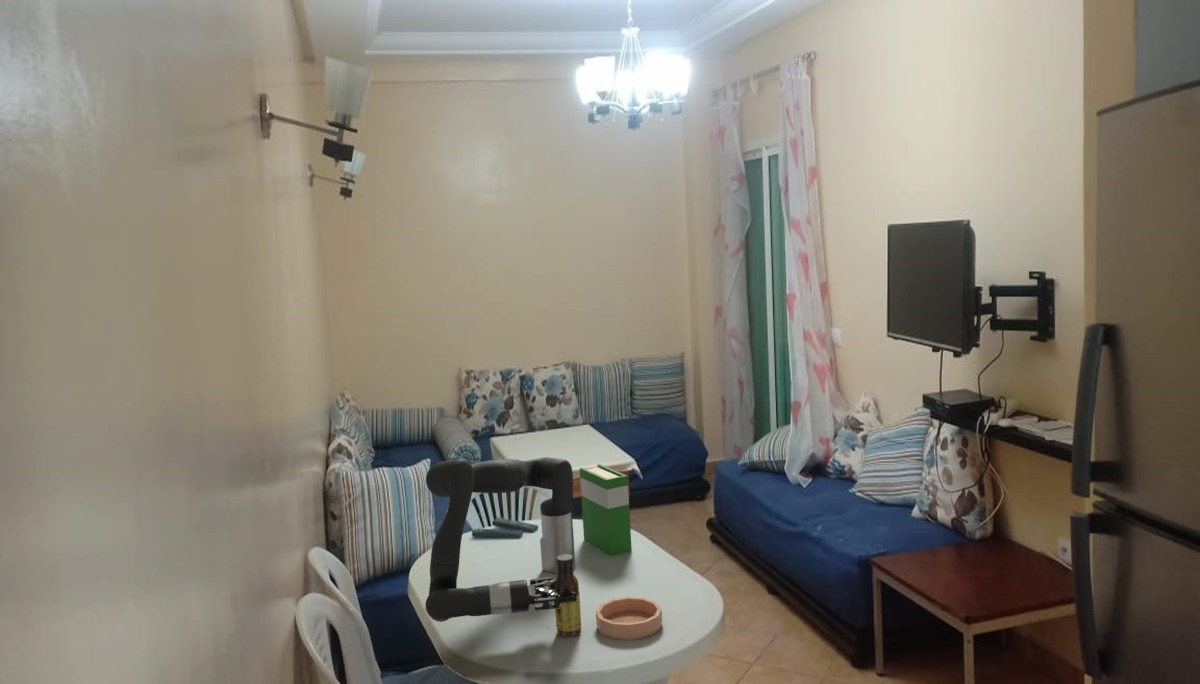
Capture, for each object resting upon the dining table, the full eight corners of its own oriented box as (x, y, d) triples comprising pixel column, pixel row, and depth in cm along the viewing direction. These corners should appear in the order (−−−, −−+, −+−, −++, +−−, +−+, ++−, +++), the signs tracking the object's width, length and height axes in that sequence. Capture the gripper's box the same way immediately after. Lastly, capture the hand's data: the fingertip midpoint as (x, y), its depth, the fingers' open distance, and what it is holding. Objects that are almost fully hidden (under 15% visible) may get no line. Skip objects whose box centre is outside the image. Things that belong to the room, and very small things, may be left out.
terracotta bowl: (590, 637, 221) (589, 622, 221) (607, 610, 236) (606, 595, 236) (653, 642, 217) (653, 626, 216) (667, 614, 232) (666, 599, 231)
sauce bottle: (556, 628, 228) (551, 552, 225) (580, 625, 228) (576, 550, 226) (557, 639, 221) (552, 562, 219) (582, 637, 222) (577, 559, 219)
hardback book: (584, 540, 290) (579, 468, 287) (604, 535, 294) (599, 464, 291) (610, 556, 275) (606, 480, 272) (631, 551, 278) (627, 475, 275)
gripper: (509, 594, 214) (577, 586, 216) (505, 572, 228) (569, 564, 230) (511, 624, 215) (578, 615, 217) (508, 600, 229) (571, 592, 231)
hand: (574, 589), depth 224 cm, fingers open, 8 cm apart
